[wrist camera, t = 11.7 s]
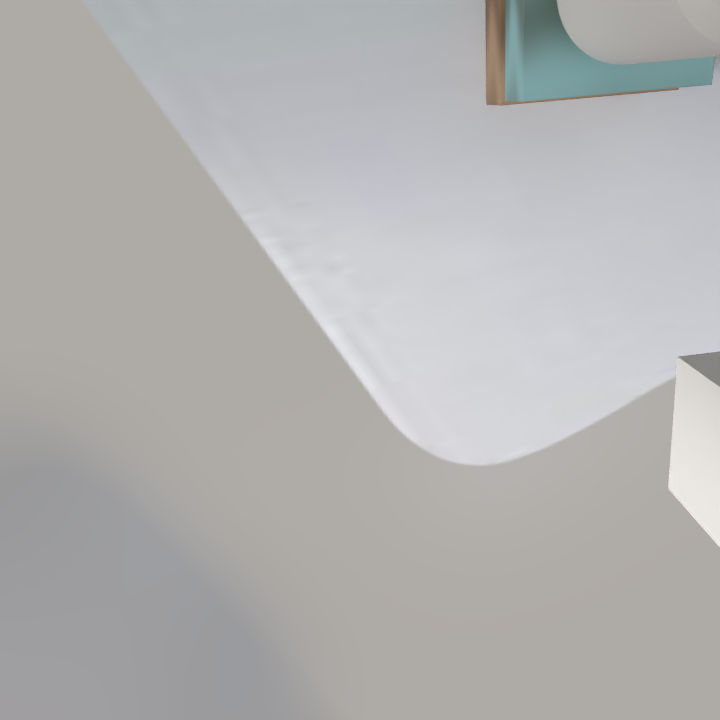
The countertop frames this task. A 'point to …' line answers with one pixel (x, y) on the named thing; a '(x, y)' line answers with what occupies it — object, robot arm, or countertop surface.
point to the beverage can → (643, 29)
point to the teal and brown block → (565, 61)
